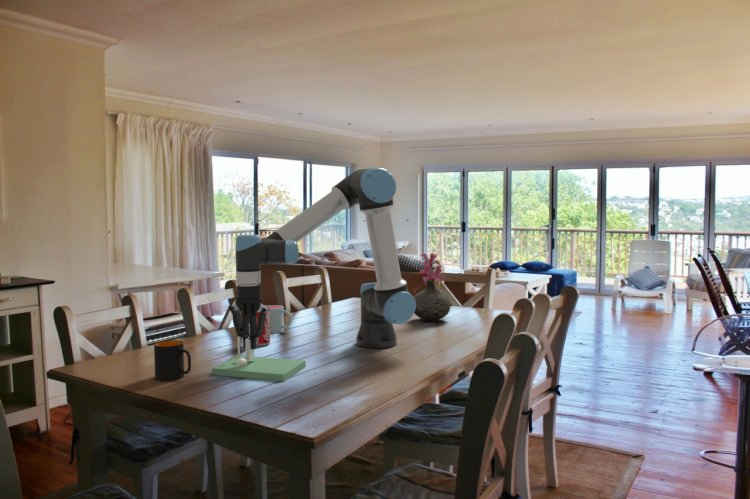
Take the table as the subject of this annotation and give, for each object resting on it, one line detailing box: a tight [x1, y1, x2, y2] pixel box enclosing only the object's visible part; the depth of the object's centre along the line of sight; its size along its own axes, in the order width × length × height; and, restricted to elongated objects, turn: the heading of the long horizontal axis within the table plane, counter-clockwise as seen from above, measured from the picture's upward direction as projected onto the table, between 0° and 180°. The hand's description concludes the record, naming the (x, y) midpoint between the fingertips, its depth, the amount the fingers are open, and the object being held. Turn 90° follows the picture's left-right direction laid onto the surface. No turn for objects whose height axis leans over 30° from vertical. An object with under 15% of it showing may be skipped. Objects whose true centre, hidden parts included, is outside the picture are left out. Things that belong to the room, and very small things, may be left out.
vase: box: [413, 252, 451, 323], centre depth 258 cm, size 17×18×30 cm
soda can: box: [256, 308, 271, 347], centre depth 215 cm, size 7×7×13 cm
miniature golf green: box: [211, 335, 307, 382], centre depth 181 cm, size 24×16×14 cm, turn 74°
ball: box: [236, 358, 247, 366], centre depth 183 cm, size 4×4×4 cm
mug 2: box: [264, 304, 293, 335], centre depth 238 cm, size 14×9×10 cm
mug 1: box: [153, 339, 192, 382], centre depth 174 cm, size 8×12×10 cm
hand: (249, 359), depth 182 cm, fingers closed
